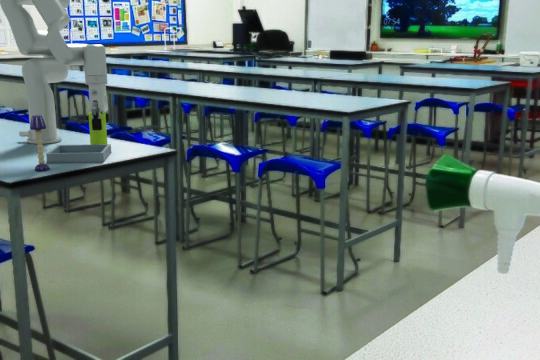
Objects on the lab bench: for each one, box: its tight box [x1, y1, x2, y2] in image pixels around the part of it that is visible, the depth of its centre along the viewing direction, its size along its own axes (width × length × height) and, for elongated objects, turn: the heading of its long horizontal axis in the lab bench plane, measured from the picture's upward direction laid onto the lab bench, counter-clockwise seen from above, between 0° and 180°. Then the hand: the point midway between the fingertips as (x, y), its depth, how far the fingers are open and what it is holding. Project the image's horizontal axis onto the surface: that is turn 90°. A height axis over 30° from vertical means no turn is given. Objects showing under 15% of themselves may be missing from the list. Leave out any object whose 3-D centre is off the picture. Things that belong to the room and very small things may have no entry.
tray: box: [45, 143, 112, 164], centre depth 202 cm, size 18×16×3 cm
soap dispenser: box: [88, 94, 108, 145], centre depth 216 cm, size 6×7×20 cm
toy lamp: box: [29, 115, 50, 172], centre depth 183 cm, size 5×5×17 cm
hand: (99, 128), depth 217 cm, fingers open, 9 cm apart
